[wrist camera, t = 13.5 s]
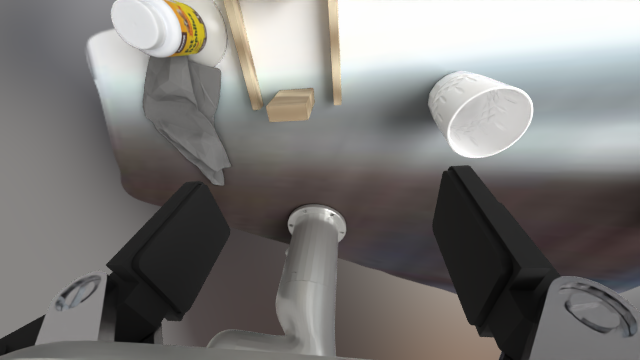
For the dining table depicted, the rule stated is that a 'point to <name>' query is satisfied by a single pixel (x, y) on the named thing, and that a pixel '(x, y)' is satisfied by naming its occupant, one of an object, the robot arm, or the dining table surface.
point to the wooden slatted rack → (285, 101)
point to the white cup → (479, 113)
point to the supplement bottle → (159, 27)
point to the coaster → (209, 32)
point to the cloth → (187, 110)
